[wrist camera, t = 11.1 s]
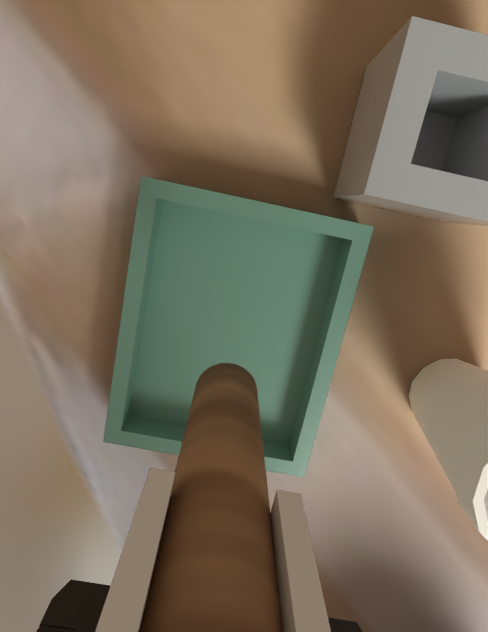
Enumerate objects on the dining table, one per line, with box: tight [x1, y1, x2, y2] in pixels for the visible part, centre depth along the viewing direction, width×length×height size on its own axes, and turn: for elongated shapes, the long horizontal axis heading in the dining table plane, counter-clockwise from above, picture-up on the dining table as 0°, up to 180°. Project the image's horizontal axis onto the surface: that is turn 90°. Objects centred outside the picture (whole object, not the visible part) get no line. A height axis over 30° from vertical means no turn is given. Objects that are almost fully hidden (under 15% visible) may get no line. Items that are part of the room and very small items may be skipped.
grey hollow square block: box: [333, 16, 488, 226], centre depth 27 cm, size 9×9×8 cm
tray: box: [103, 176, 374, 477], centre depth 32 cm, size 20×16×4 cm
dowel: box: [139, 363, 282, 632], centre depth 13 cm, size 3×3×18 cm
